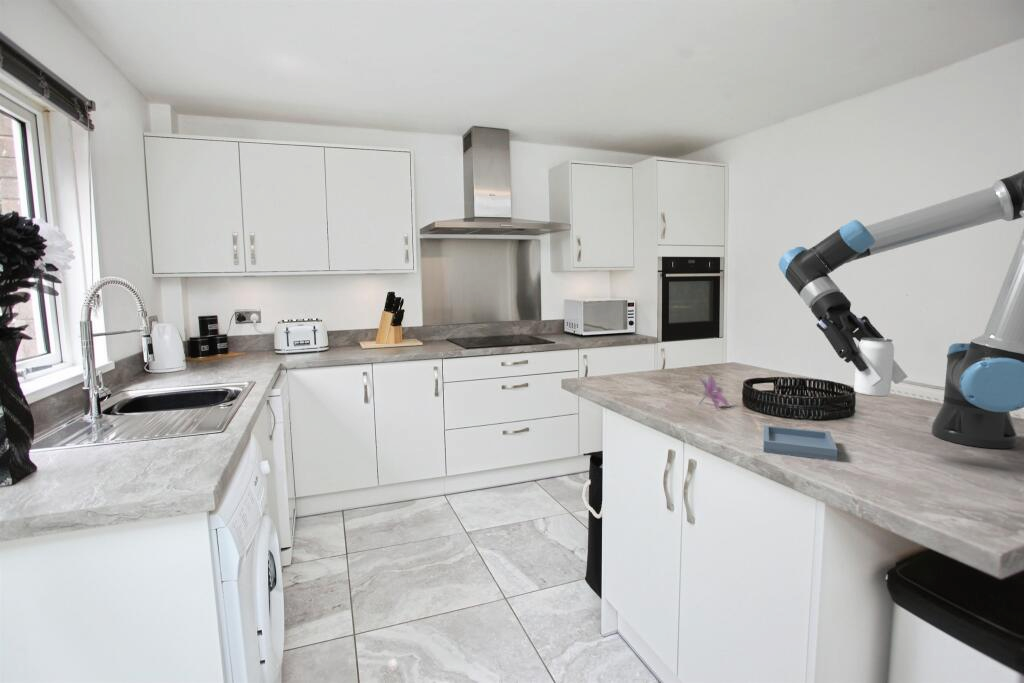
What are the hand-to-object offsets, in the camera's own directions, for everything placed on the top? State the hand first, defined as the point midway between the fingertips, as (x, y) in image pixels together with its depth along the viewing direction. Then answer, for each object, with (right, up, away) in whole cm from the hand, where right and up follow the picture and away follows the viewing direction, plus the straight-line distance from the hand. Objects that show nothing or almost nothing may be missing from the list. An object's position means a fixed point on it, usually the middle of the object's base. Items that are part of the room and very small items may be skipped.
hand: (889, 381), depth 107 cm
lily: (-18, -12, +48) cm, 53 cm away
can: (-1, -3, +4) cm, 5 cm away
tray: (-14, -16, +10) cm, 23 cm away
